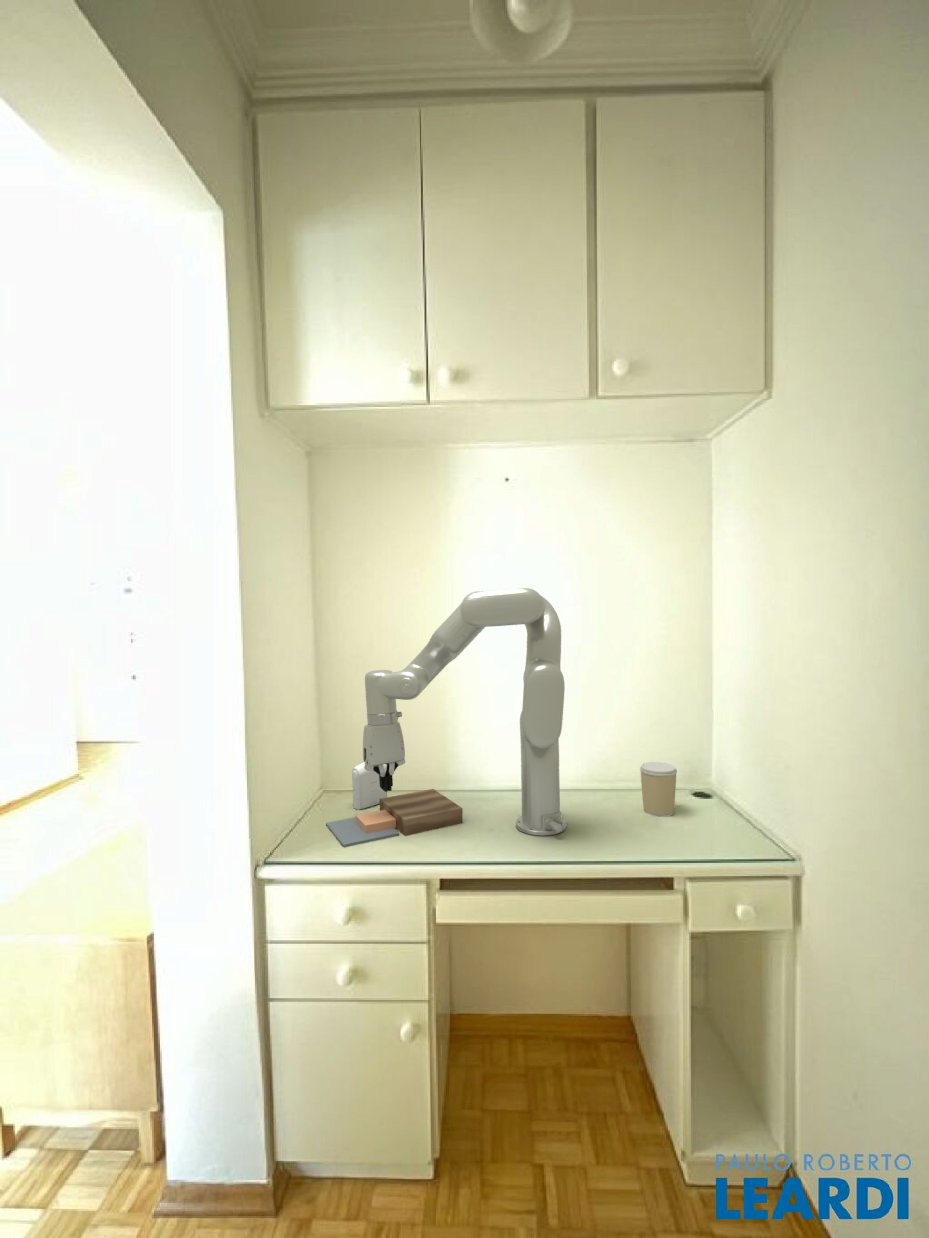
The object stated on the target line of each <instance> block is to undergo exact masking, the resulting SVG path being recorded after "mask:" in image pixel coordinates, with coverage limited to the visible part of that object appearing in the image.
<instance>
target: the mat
mask: <svg viewBox="0 0 929 1238" xmlns="http://www.w3.org/2000/svg"><path fill="white" fill-rule="evenodd" d="M325 826H326V827H327V828H328V830H329V831H330V832H331V833H332V835H333V836H334V837H335V839H336V840H337V841H338V842H339V843H340V845H341V846H342V848H347V847H351V846H356V845H357V846H358V845H361V844H365V843H369V842H370V841H371V842H375V841H380V840H384V839H388V838H394V837H397V836H398V837H399V836H400V831H399V830H398V829H397V828H390V829H385V830H380V831H375V832H371V833H365V832H364V831H363V830H362V829H361V828H360V827H359V826H358V825H357V823H356V816H354V817H349V818H343V819H339V820H334V821H329V822H328V821H327V822H326V823H325ZM396 829H397V830H396Z"/></svg>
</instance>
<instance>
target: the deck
mask: <svg viewBox="0 0 929 1238" xmlns="http://www.w3.org/2000/svg"><path fill="white" fill-rule="evenodd" d="M381 810H386V811H387V812H388V813H390V814H391V815H392V816H393V817H394V818H395V819H396V827H395V829H397V831H398V832H399V833H401V834H402V835H403V836H404V837H406V836H409V835H410V836H411V835H415V834H420V833H424V832H428V831H432V830H433V831H435V830H438V829H442V828H449V827H452V826H458V825H461V824H463V823H464V821H463V820H464V819H463V807H462V806H460V805H458V804H457V803H455V802H454V801H453V800H451V799H450V798H448V797H447V796H445V795H443V794H442V793H440V792H439V791H438V790H436V789H434V788H431V789H425V790H419V791H415V792H409V793H403V794H399V795H392V796H387V797H386V798H380V803H379V811H381Z"/></svg>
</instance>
